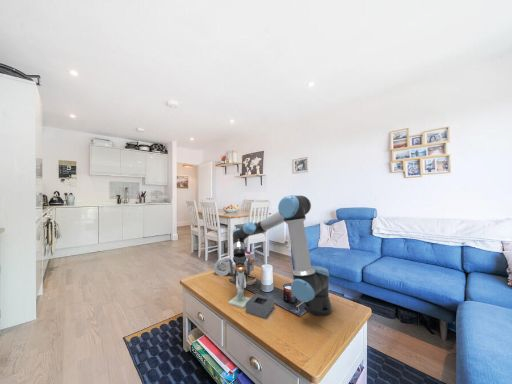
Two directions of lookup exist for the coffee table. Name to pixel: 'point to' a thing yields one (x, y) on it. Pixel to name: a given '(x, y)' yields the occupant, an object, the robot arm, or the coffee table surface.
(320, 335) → the coffee table surface
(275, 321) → the coffee table surface
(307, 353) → the coffee table surface
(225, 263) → the sculpture
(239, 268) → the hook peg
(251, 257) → the toy
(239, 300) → the pad
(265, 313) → the eye block
